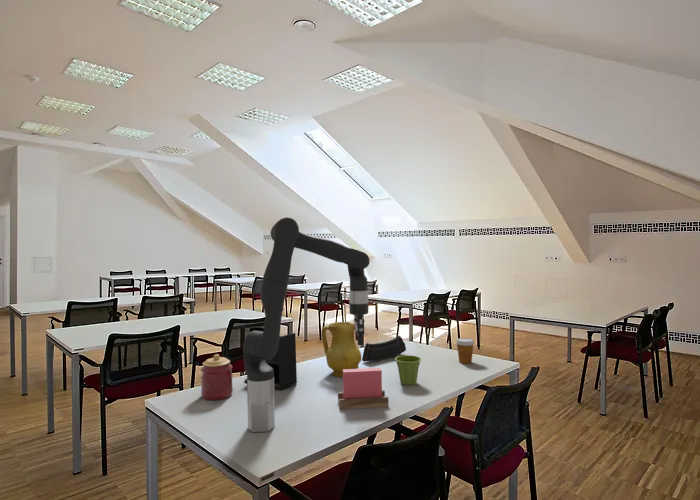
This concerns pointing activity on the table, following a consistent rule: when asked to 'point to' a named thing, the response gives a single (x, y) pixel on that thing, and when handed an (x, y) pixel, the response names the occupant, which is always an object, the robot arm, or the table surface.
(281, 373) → the bookend
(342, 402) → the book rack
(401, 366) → the plant pot
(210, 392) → the canister
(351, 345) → the pitcher
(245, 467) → the table surface
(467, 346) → the disposable coffee cup
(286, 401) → the table surface
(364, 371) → the book
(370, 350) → the magazine
